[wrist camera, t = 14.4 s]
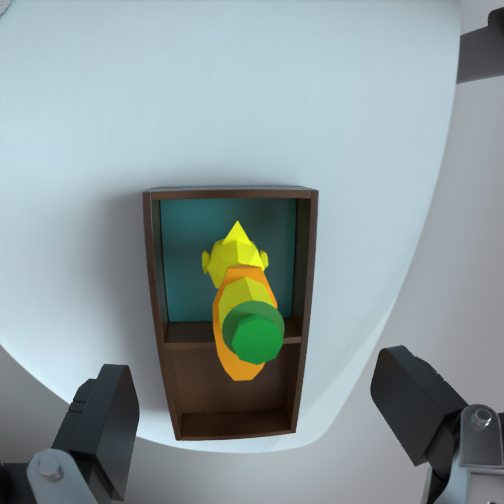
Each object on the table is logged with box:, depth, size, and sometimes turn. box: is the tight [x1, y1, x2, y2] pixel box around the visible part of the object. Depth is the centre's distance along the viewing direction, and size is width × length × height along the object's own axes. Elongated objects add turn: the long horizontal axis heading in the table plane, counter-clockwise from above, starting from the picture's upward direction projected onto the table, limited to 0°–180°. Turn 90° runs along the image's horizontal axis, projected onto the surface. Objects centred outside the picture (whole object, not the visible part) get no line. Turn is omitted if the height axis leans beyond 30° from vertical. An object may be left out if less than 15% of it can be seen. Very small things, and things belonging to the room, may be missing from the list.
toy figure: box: [202, 221, 285, 381], centre depth 15 cm, size 7×4×12 cm, turn 178°
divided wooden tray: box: [143, 185, 319, 441], centre depth 21 cm, size 10×20×4 cm, turn 179°
